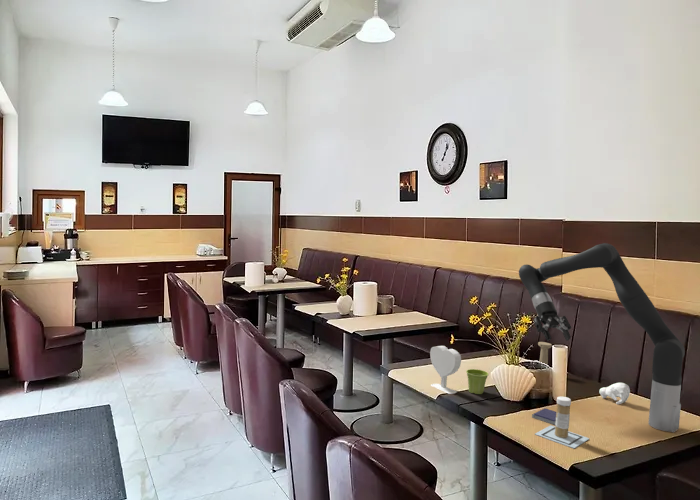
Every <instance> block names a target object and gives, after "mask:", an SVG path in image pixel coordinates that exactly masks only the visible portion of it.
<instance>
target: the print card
mask: <svg viewBox="0 0 700 500" xmlns="http://www.w3.org/2000/svg"><path fill="white" fill-rule="evenodd" d="M534 435H535V436H538V437H540V438H543V439H545V440H549V441H551V442H553V443H557V444H559V445H562V446H565V447H568V448H571V449H573V450H574V449H577V448H578V447H580V446H581V445H582V444H584V443H586V441H589V440H590V438H589V437H587V436H584V435H581V434H578V433H575V432H572V431H569V430H568V437H567V438H561V437H558V436H556V435H555V425H553V424H550V425H548V426H546V427H545V428H543V429H541V430H539V431H537V432H535V433H534Z"/></svg>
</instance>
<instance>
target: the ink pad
mask: <svg viewBox="0 0 700 500" xmlns="http://www.w3.org/2000/svg"><path fill="white" fill-rule="evenodd" d="M556 412H557V411H554V410H553V409H549V408H545V407H544V408H543V409H540V410H538V411H536V412H534V413H533V414H531V418H532V419H536V420H538V421H542V422H544V423H547V424H550V425H552V426H555V423H556Z"/></svg>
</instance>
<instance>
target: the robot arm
mask: <svg viewBox="0 0 700 500" xmlns="http://www.w3.org/2000/svg"><path fill="white" fill-rule="evenodd" d="M594 268H595V269H596V268H597V269H599V268H602V269H603V270H604V271H605V272H606V274H607V275H608V276H609V277H610V279H611V281H612V284H613V286H614V290H615V293H616V295H617V298H618V300H619V302H620V303H621V305H622V306H623V308H624V309H625V311H626V312H627V314H628V315H629V316H630V317H631V318H632V320H634V321H635V322H636V323H637V324H638V325H639V326H640V327H641V328H642V329H643V330H644V331H645V332H646V333H647V335H648V336H649V338H650V339H651V341H652V344H653V345H654V348H653V353H652V354H653V355H652V366H651V367H652V368H651V369H652V370H651V371H652V379H651V380H652V381H651V391H650V401H649V402H650V403H649V412H648V413H649V414H648V425H649V426H650V427H651V428H654V429H656V430H660V431H664V432H671V433H675V432H676V431H679V429H680V419H681V409H682V408H681V407H682V404H681V402H680V398H681V389H682V371H683V370H682V368H683V359H684V357H685V354H686V353H685V352H686V349H685V347H684V344H683V343H682V342H681V340H680V338H678V337H677V336H676V335H675V334H674V332H673V331H672V330H671V329H670V328H669V327H668V326H667V324H666V323H665V321H664V320H663V318H662V316H661V315H660V313H659V311H658V310H657V308H656V307H655V305H654V303H653V302H652V300H651V299H650V297H649V296H648V294H647V293H646V292H645V290H644V289H643V288H642V287H641V285H640V284H639V282H638V281H637V280H636V279H635V277H634V276H633V275H632V273H631V272H630V270H629V269H628V267H627V266H626V264H625V262H624V260H623V258H622V256H621V255H620V253H619V251H618V250H617V249H616V246H614V245H612V244H611V243H607V242H604V243H600V244H596V245H594V246H593V247H590V248H588V249H587V250H583V251H582V252H580V253H579V252H578V253H576V254H574V255H569V256H563V257H559V258H555V259H551V260H547V261H544V262H542V263H540V266H539V267H537V268H536V267H535V266H533V265H531V264H527V263H526V264H523V265H521V267H519V270H518V276H519V279H520V281H521V282H522V284H523V285H524V287H525V288H526V289H527V291H528V294H529V296H530V299H531V302H532V305H533V308H534V309H535V312H536V314H537V316H536V317H534V319H533V323H534V325H535V328H536V331H537V332H540V333H542V334H543V336H544V338H545V340H546V341H547V342H550V341H551V340H552V336H551V334H550V331H549V330H548V329H551V328H553V329H557V330H559V331H560V332H562V335H563V338H564V339H565V341H570V340H571V335H570V332H569V331H570V330H571V329H572V326H571V324H570V322H569V321H568V318H567V317H566V315H563V316H559V315H558V309H556V307H555V304H554V302H553V300H552V298H551V296H550V294H549V293H548V291H547V288H546V286H545V285H544V283H543V282H544V281H546V280H548V279H550V278H556V277H559V276H562V275H566V274H568V273H569V274H570V273H573V272H575V271H580V270H585V269H594ZM542 324H543V325H542Z"/></svg>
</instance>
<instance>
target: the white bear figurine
mask: <svg viewBox="0 0 700 500" xmlns="http://www.w3.org/2000/svg"><path fill="white" fill-rule="evenodd" d="M599 394H600V395H601V398H602V399H606V398H608V397H609V398H611V399H612V400H614V401H616V402H615V404H616V405H621V404H623V403H626V402H627V401H628V399H629V396H630V394H631V390H630V386H629V385H628V384H626V383H624V382H616V383H613V384H611V385H609V386H606V387H601V388H600V389H599ZM618 398H620V399H619V400H618Z"/></svg>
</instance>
